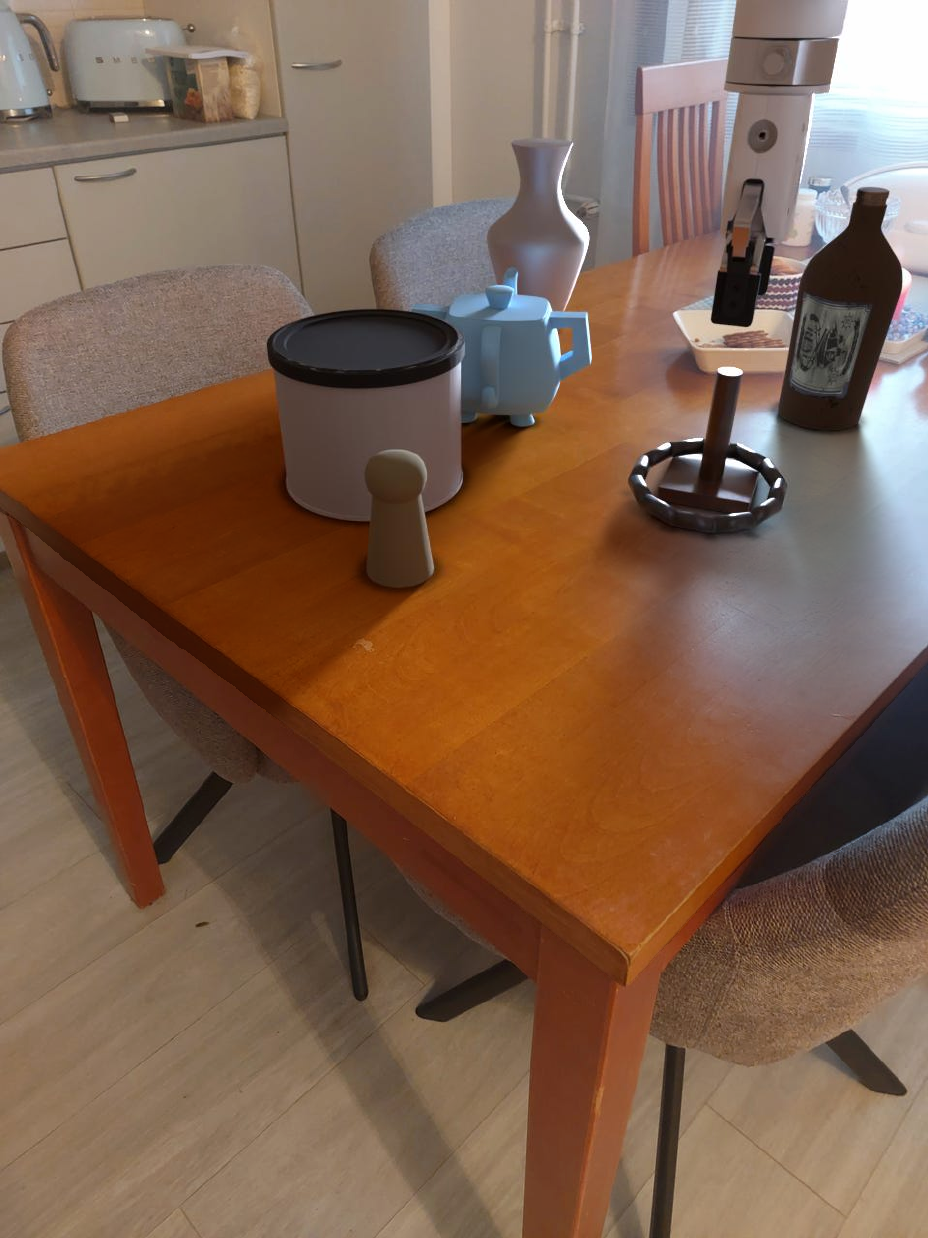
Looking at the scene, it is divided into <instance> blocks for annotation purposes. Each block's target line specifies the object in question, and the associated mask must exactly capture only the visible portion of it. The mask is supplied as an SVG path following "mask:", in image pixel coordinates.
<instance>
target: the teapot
mask: <svg viewBox="0 0 928 1238" xmlns="http://www.w3.org/2000/svg"><path fill="white" fill-rule="evenodd" d="M517 275H518V273H517V269H516V268H513V267H511V268H508V269H507V270H506V271H505V273H504V277H503V282H502V285H497V284H496V285H491V286H488V287H486V288H485V290H484V292H485V293H484V292H483V293H481V292H479V293H477V292H476V293H463V294H459V295H458V296H457V297H456V298H454V299H453V301H452V302H451V304H450V305H449V306H448V305H447V306H446V305H437V304H428V303H414V305H413V306H412V308H411V311H410V312H417V313H422V314H427V315H431V316H434V317H438V318H441V319H443V320H446V321H448V322H450V323H452V324H454V325H455V326H457V327H458V328H459V329H460V330H461V331H462V332H463V334H464V337H465V354H464V357H463V359H462V361H461V424H462V423H463V424H465V423H467V424H468V423H472V422H474V421H476V419H477V416H478V414H482V415H495V416H498V415H499V416H509V422H510V424H511V425H513V426H516V427H530V426H532V425H534V424H535V419H534V417H533V415H536V414H537V415H538V414H542V413H544V412H547V410H548V409H549V407H550V406H551V404H552V402H553V401H554V399H555V397H556V395H557V392H558V389H559V387H560V384H561V382H562V381H564V380H566V379H567V378H569V377H571V376H572V375H574V374H576V373H578V372H579V371H581V370H583V369H584V368H587V367H589V366H590V365H591V364H592V360H593V359H592V357H593V355H592V348H591V337H590V336H591V335H590V325H589V318H588V317H589V316H588V311H564V312H561V311H552V309H551V306H550V303H549V301H548V300H547V299H545V298H542V297H536V296H528V295H517ZM568 328H572V350H569V351H568V352H566V353H564V354H562V355H561V346H560V339H559V338H560V337H559V334H558V330H559V329H568Z"/></svg>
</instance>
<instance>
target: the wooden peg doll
mask: <svg viewBox="0 0 928 1238" xmlns="http://www.w3.org/2000/svg"><path fill="white" fill-rule="evenodd" d="M364 476H365V482H366V485H367V488H368V491H369V492H370V493H371V494H372V506H371V518H370V521H369V532H368V545H367V546H368V548H367V560H366V574H367V577H368V578H369V579H370V580H371V581H372V582H373V583H376V584H377V585H379V586H384V587H386V588H393V589H394V588H396V589H403V588H411V587H414V586H418V585H420V584H422V583H424V582H426V581H427V580H429V579H430V578H431V576H432V575H433V574H434V570H435V566H434V559H433V554H432V548H431V543H430V535H429V531H428V526H427V518H426V514H425V513H426V512H424V508H423V502H422V496H421V493H422V491H423V490H424V488H425V484H426V480H427V470H426V467H425V464H424V462H423V461H422V459H421V458H420V457H419V456H418V455H417V454H414V453H412V452H409V451H406V450H396V449H395V450H387V451H383V452H380V453H378V454H376V455H374V456H373V457H371V458H370V460H369V461H368V463H367V465H366V468H365V473H364Z"/></svg>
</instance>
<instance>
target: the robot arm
mask: <svg viewBox="0 0 928 1238" xmlns="http://www.w3.org/2000/svg"><path fill="white" fill-rule="evenodd" d="M848 4H849V0H736V1H735V8H734V16H733V21H732V22H733V23H732V30H731V38H730V45H729V50H728V51H729V52H728V59H727V65H726V73H725V81H724V85H723V90H724V91H726V92H729V93H736V94H738V96H737V103H736V110H735V116H734V122H733V127H732V135H731V140H730V141H731V142H730V147H729V154H728V155H729V156H728V160H727V169H726V175H725V182H724V190H723V199H722V207H721V215H720V224H719V225H720V227H719V234H720V236H721V237H722V238H724V240H725V244H724V248H723V253H722V256H721V261H720V265H719V269H718V270H717V274H716V281H715V288H714V293H713V300H712V308H711V315H710V322H711V323H712V324H714V325H721V326H730V327H740V328H749V327H751V326H752V324H753V322H754V318H755V312H756V305H757V300H758V296H764V295H766V293H767V292H768V289H769V284H770V283H769V282H770V277H771V272H772V267H773V261H774V257H775V256H774V255H775V250H776V245H779V244H781V243H782V242H784V241H785V240H786V239H787V237H788V235H789V233H790V232H791V230H792V227H793V225H794V222H795V216H796V210H797V206H798V205H797V203H798V199H799V193H800V188H801V181H802V176H803V171H804V166H805V162H806V161H805V160H806V155H807V148H808V144H809V138H810V132H811V131H810V130H811V126H812V120H813V119H812V118H813V112H814V111H813V110H814V102H815V95H822V94H828V93H830V92H831V90H832V85H833V84H832V83H833V79H834V74H835V69H836V63H837V60H838V59H837V58H838V54H839V48H840V45H841V40H842V39H841V37H842V33H843V28H844V22H845V19H846V15H847V10H848ZM774 244H775V245H774Z"/></svg>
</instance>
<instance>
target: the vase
mask: <svg viewBox="0 0 928 1238" xmlns="http://www.w3.org/2000/svg"><path fill="white" fill-rule="evenodd" d="M510 145H511V148H512V150H513V153H514V156H515V159H516V164H517V168H518V173H519V180H520V181H519V190H518V194H517V196H516V198H515V201H514V202H513V204H512V205H511V207H510V208H509V209H508V210H507V211H506V212H505V213H504V214H502V215H501V216H500V217H498V218H497V219H496V220H495V221H494V222H493V223H492V224H491V225H490V227H489V229H488V231H487V234H486V245H487V250H488V254H489V259H490V263H491V267H492V271H493V275H494V279H495V282H496V285H502V282H503V277H504V273H505V271H506V270H507V269H508V268H511V267H513V268H516V269H517V273H518V275H517V295H528V296H536V297H542V298H545V299H547V300H548V301H549V303H550V306H551V309H552V311H561V312H565V310H566V308H567V306H568V303H569V301H570V299H571V297H572V293H573V291H574V289H575V286H576V283H577V280H578V277H579V275H580V272H581V269H582V266H583V264H584V261H585V258H586V254H587V251H588V247H589V242H590V235H589V232H588V229H587V227H586V226H585V224H583V222H582V221H581V220H580V219H579V218H578V217H577V216H576V215H574V214H573V213H572V212H571V211H570V210H569V209H568V207H567V205H566V203H565V201H564V198H563V195H562V189H561V186H562V185H561V183H562V176H563V173H564V169H565V166H566V164H567V161H568V157H569V155H570V152H571V149H572V147H573V145H574V141H569V140H566V139H561V138H559V139H558V138H546V137H545V138H544V137H543V138H542V137H540V138H537V137H536V138H523V139H515V140H513V141H511V143H510Z"/></svg>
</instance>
